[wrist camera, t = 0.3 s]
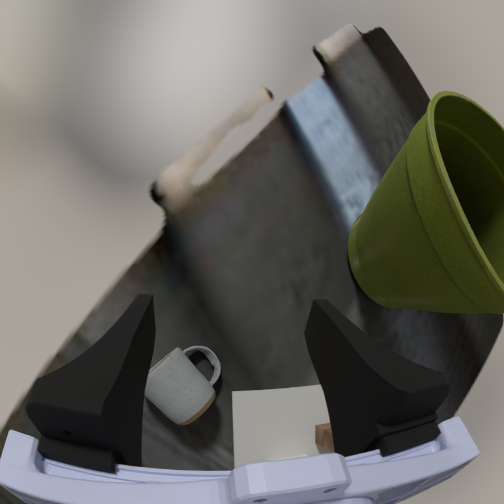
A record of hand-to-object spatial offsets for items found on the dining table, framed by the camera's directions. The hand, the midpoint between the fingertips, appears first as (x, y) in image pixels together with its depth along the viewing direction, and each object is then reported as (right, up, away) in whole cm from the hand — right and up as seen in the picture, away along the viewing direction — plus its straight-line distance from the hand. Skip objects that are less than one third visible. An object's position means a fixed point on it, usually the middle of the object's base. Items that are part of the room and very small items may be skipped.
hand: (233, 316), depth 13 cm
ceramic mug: (-9, -14, +26) cm, 31 cm away
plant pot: (+26, +2, +40) cm, 47 cm away
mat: (+7, -28, +26) cm, 38 cm away
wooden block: (+12, -25, +27) cm, 39 cm away
